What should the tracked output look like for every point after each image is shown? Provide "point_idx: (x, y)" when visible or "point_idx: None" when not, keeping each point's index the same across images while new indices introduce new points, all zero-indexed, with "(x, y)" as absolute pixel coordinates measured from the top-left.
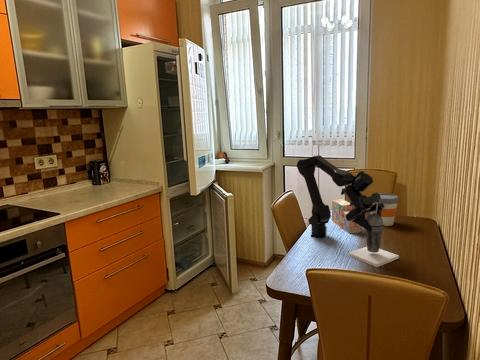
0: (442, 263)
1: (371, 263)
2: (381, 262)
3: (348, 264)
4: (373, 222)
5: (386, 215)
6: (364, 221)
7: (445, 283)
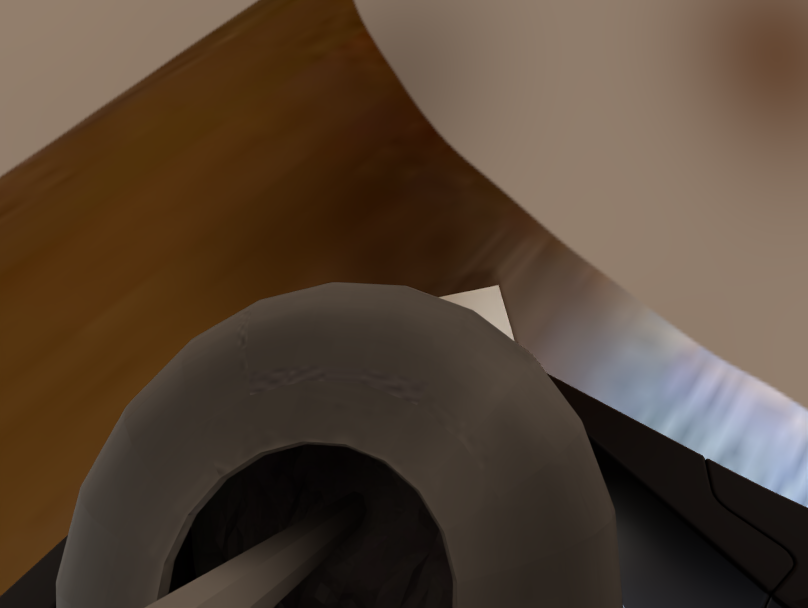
0: (57, 171)
1: (509, 334)
2: (444, 296)
3: (670, 419)
4: (529, 352)
5: None
6: (789, 510)
7: (290, 16)
